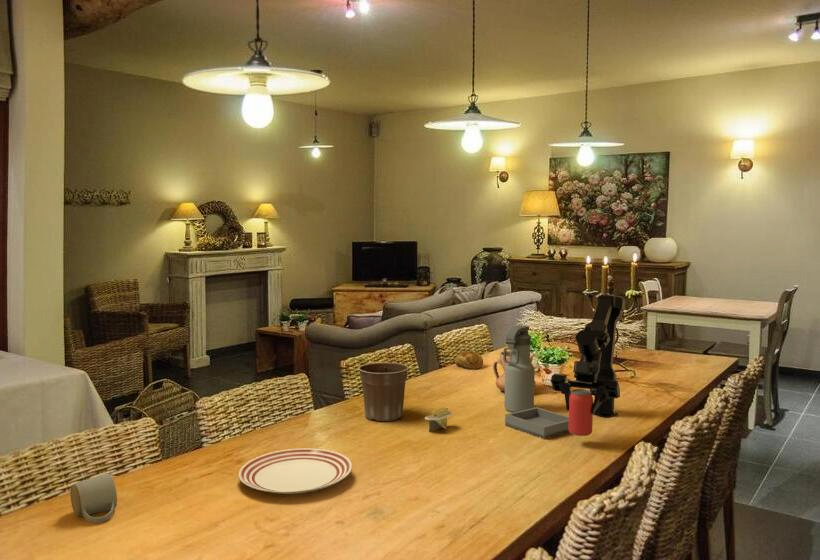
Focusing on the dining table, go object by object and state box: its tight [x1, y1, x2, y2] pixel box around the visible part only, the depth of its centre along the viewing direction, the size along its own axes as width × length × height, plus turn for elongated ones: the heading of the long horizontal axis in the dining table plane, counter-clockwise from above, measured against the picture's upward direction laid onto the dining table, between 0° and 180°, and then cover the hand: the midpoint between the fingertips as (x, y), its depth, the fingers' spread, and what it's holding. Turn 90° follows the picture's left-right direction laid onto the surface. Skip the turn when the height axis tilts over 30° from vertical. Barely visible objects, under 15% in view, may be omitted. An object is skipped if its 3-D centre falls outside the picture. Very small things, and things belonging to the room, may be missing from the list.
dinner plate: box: [238, 447, 353, 495], centre depth 169 cm, size 28×27×3 cm
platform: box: [424, 406, 452, 433], centre depth 208 cm, size 12×18×7 cm, turn 140°
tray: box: [504, 406, 570, 440], centre depth 210 cm, size 14×16×4 cm
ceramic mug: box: [69, 473, 118, 524], centre depth 148 cm, size 11×8×8 cm
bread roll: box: [454, 350, 484, 370], centre depth 293 cm, size 13×10×8 cm
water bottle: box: [503, 324, 536, 413], centre depth 228 cm, size 10×10×28 cm
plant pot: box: [357, 362, 410, 422], centre depth 221 cm, size 16×16×16 cm
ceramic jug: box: [492, 350, 538, 393], centre depth 253 cm, size 18×14×14 cm
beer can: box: [568, 388, 594, 437], centre depth 194 cm, size 7×7×12 cm
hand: (579, 411), depth 193 cm, fingers closed on beer can, 7 cm apart
